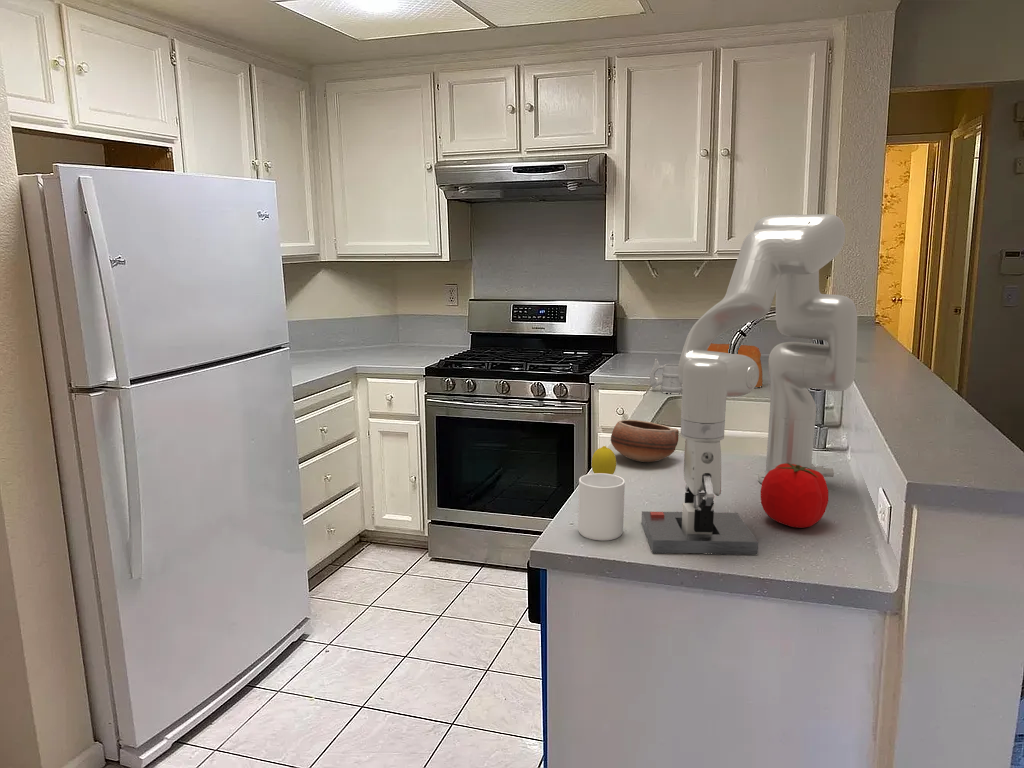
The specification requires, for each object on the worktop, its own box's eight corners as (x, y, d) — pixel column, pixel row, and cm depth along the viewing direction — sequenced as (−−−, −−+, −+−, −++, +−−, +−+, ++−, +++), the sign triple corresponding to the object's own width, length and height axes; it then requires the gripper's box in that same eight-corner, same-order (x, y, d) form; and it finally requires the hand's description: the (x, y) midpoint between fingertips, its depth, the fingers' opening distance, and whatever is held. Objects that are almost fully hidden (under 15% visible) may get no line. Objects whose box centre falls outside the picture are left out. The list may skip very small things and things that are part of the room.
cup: (576, 539, 136) (577, 485, 134) (580, 516, 147) (581, 466, 146) (622, 542, 135) (624, 488, 133) (623, 518, 146) (625, 468, 144)
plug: (705, 531, 139) (708, 492, 137) (711, 541, 134) (714, 501, 133) (681, 531, 139) (683, 492, 137) (686, 540, 134) (688, 500, 133)
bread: (690, 378, 295) (692, 340, 293) (761, 382, 288) (764, 343, 285) (687, 385, 282) (689, 345, 279) (762, 389, 274) (765, 348, 272)
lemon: (599, 475, 173) (600, 441, 172) (620, 479, 170) (621, 445, 168) (586, 480, 169) (587, 446, 167) (607, 486, 166) (608, 450, 164)
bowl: (688, 462, 183) (690, 422, 182) (645, 474, 174) (646, 432, 172) (640, 448, 196) (641, 411, 194) (597, 459, 186) (598, 419, 184)
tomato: (774, 536, 138) (779, 475, 136) (747, 510, 151) (750, 455, 149) (839, 534, 139) (844, 474, 136) (806, 509, 152) (810, 454, 150)
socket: (736, 524, 143) (737, 509, 143) (757, 555, 129) (758, 538, 129) (641, 523, 144) (641, 508, 143) (652, 553, 130) (653, 536, 129)
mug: (682, 395, 264) (684, 361, 261) (648, 393, 266) (649, 360, 264) (682, 390, 271) (683, 358, 269) (649, 389, 273) (650, 356, 271)
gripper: (736, 442, 124) (731, 541, 127) (712, 416, 141) (708, 505, 145) (690, 441, 124) (686, 541, 128) (672, 416, 141) (668, 505, 145)
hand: (698, 521), depth 136 cm, fingers open, 8 cm apart
